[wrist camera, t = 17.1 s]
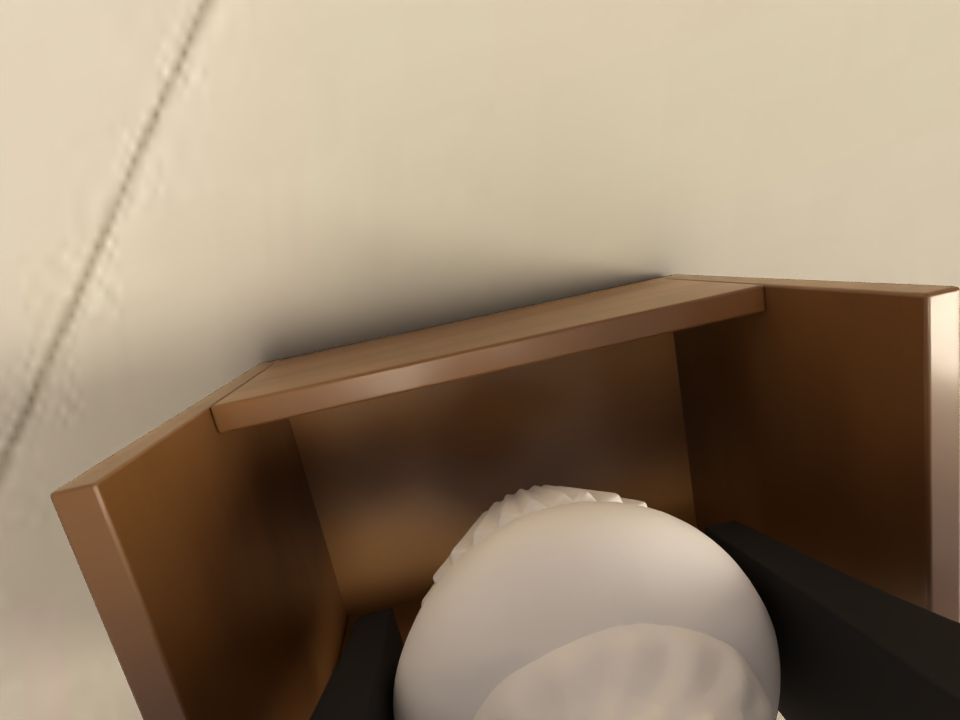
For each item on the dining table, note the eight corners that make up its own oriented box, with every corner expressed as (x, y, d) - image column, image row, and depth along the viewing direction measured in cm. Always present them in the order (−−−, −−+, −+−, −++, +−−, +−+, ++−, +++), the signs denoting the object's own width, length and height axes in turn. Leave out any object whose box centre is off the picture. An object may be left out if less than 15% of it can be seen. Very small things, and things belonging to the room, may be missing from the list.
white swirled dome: (677, 414, 11) (1093, 711, 4) (653, 642, 13) (928, 1115, 6) (391, 431, 10) (353, 826, 4) (405, 671, 12) (396, 1256, 5)
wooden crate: (257, 364, 15) (47, 494, 6) (675, 273, 16) (963, 285, 7) (336, 623, 17) (252, 984, 8) (705, 529, 18) (961, 767, 9)
